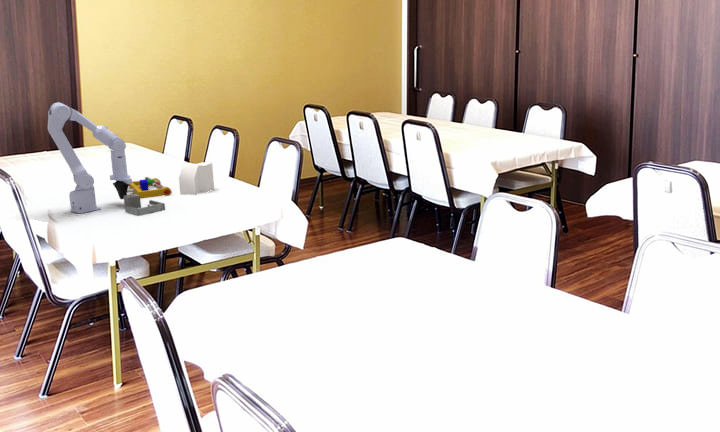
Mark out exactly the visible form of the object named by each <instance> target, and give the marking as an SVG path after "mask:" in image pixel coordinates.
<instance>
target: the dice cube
mask: <svg viewBox="0 0 720 432" xmlns="http://www.w3.org/2000/svg"><path fill="white" fill-rule="evenodd" d="M123 202H124V203H123V205H124V207H125V206H126V205H128V206H131V207H135V208H138V209H139V208H142V204H141V203H142V202H141V199H140V196H139V195H137V194H134V193H131V194H127V195H125V196H124V199H123Z"/></svg>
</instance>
